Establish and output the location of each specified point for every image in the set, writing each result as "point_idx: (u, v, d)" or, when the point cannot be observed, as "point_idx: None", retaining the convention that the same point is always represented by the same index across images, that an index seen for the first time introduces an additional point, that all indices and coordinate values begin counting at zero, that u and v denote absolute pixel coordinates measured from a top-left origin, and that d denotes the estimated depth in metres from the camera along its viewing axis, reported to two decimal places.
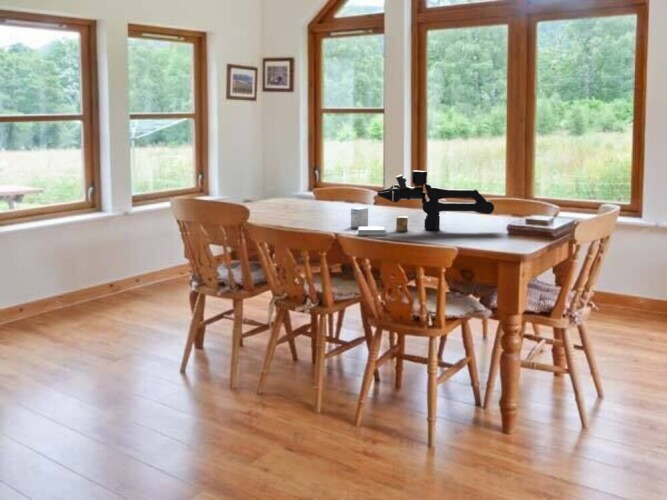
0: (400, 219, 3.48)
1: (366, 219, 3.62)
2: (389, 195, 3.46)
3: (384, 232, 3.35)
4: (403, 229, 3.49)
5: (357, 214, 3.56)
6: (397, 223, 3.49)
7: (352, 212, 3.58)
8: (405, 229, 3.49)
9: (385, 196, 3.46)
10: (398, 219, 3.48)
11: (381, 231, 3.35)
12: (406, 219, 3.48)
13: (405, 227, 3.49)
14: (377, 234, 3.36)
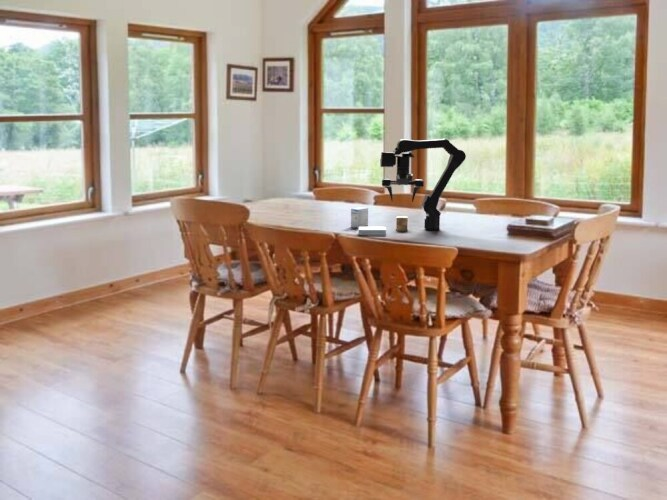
0: (400, 219, 3.48)
1: (366, 219, 3.62)
2: None
3: (384, 232, 3.35)
4: (403, 229, 3.49)
5: (357, 214, 3.56)
6: (397, 223, 3.49)
7: (352, 212, 3.58)
8: (405, 229, 3.49)
9: None
10: (398, 219, 3.48)
11: (381, 231, 3.35)
12: (406, 219, 3.48)
13: (405, 227, 3.49)
14: (377, 234, 3.36)
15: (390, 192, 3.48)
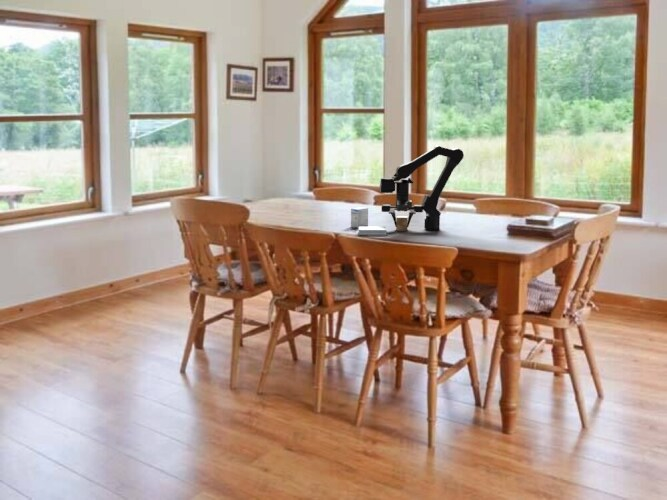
0: (400, 219, 3.48)
1: (366, 219, 3.62)
2: None
3: (385, 232, 3.36)
4: (403, 229, 3.49)
5: (357, 214, 3.56)
6: (397, 223, 3.49)
7: (352, 212, 3.58)
8: (405, 229, 3.49)
9: None
10: (398, 219, 3.48)
11: (382, 231, 3.35)
12: (406, 219, 3.48)
13: (405, 227, 3.49)
14: (378, 234, 3.36)
15: (394, 218, 3.50)
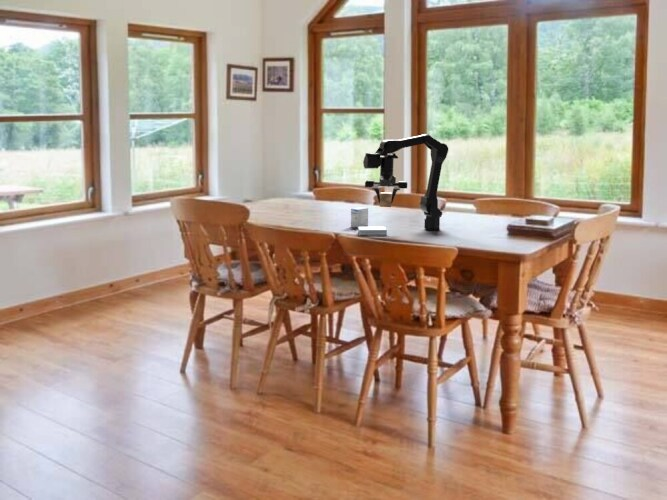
0: (384, 195, 3.40)
1: (366, 219, 3.62)
2: None
3: (385, 232, 3.36)
4: (387, 205, 3.41)
5: (357, 214, 3.56)
6: (381, 199, 3.41)
7: (352, 212, 3.58)
8: (389, 205, 3.41)
9: None
10: (382, 195, 3.40)
11: (382, 231, 3.36)
12: (390, 195, 3.40)
13: (389, 203, 3.41)
14: (378, 234, 3.36)
15: (377, 194, 3.42)
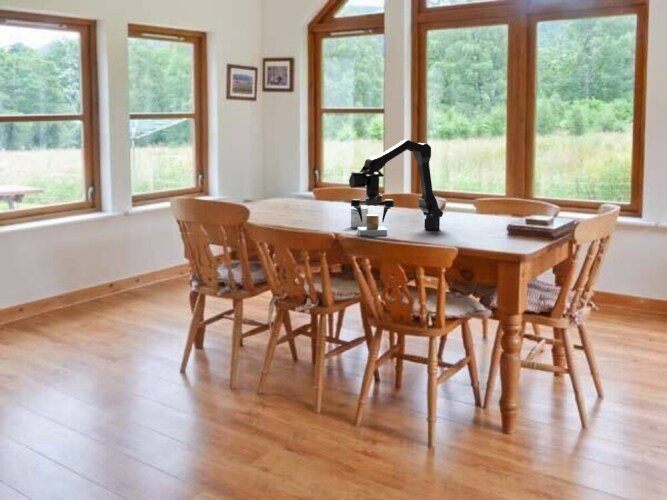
0: (370, 217, 3.37)
1: None
2: None
3: (385, 232, 3.36)
4: (373, 227, 3.37)
5: (357, 214, 3.56)
6: (367, 221, 3.37)
7: (352, 212, 3.58)
8: (375, 228, 3.37)
9: None
10: (368, 217, 3.37)
11: (383, 231, 3.36)
12: (376, 217, 3.36)
13: (375, 225, 3.37)
14: (378, 234, 3.36)
15: (360, 213, 3.38)
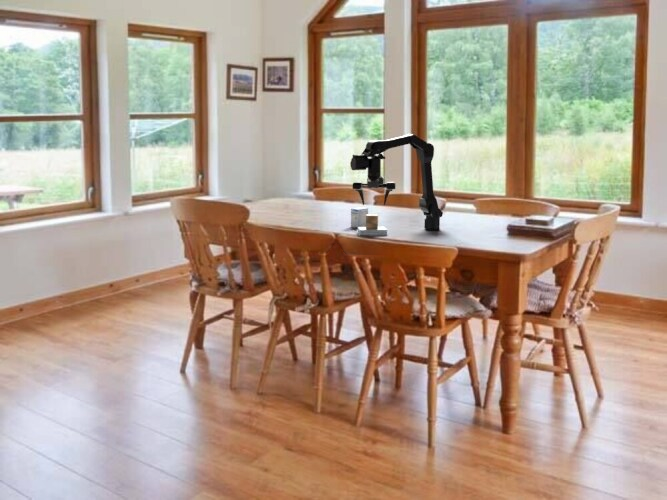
0: (370, 217, 3.37)
1: None
2: None
3: (385, 232, 3.36)
4: (373, 227, 3.37)
5: (357, 214, 3.56)
6: (367, 221, 3.37)
7: (352, 212, 3.58)
8: (375, 227, 3.37)
9: None
10: (368, 217, 3.37)
11: (382, 231, 3.36)
12: (376, 217, 3.36)
13: (375, 225, 3.37)
14: (378, 234, 3.36)
15: (361, 195, 3.37)
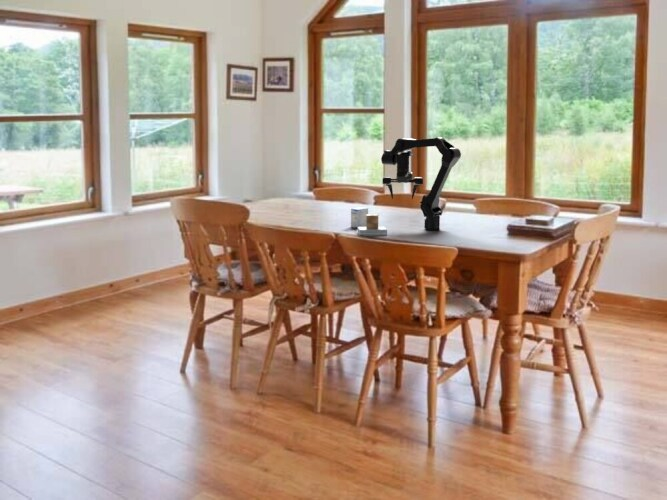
0: (370, 217, 3.37)
1: None
2: None
3: (385, 232, 3.37)
4: (373, 227, 3.38)
5: (357, 214, 3.56)
6: (367, 221, 3.38)
7: (352, 212, 3.58)
8: (375, 227, 3.38)
9: None
10: (368, 217, 3.37)
11: (382, 231, 3.36)
12: (376, 217, 3.37)
13: (375, 225, 3.38)
14: (378, 234, 3.37)
15: (390, 190, 3.58)
